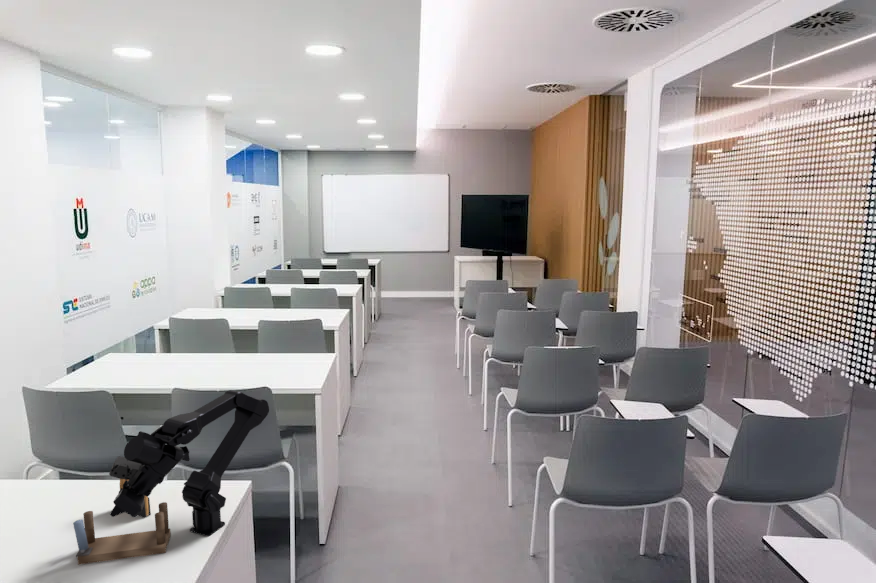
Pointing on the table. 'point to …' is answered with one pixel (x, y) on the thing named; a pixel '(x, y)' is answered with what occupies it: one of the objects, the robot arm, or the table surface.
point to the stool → (126, 541)
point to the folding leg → (80, 535)
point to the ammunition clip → (146, 508)
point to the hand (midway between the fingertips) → (111, 515)
